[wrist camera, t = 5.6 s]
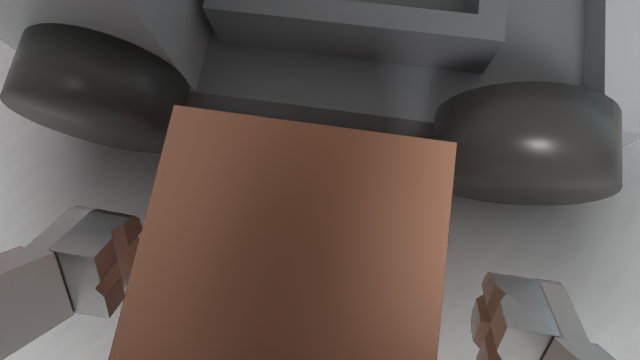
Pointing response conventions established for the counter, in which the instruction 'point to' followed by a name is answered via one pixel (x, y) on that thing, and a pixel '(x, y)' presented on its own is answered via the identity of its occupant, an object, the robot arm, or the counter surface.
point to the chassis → (351, 77)
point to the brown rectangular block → (289, 244)
